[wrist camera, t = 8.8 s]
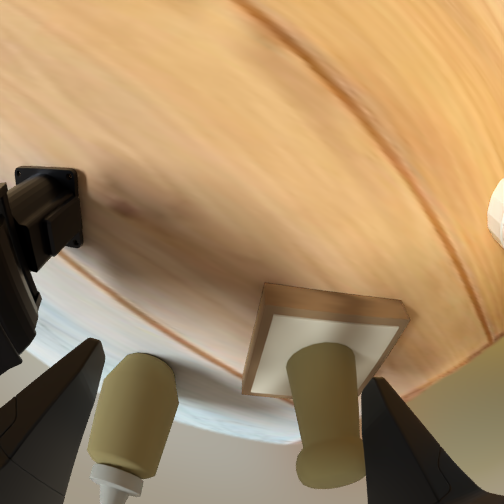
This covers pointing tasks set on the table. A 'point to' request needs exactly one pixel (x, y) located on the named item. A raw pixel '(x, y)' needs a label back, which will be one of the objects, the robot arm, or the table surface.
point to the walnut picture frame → (318, 333)
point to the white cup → (497, 214)
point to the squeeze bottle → (131, 426)
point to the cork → (327, 415)
